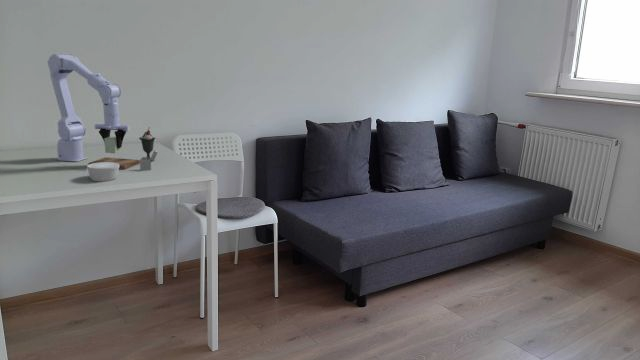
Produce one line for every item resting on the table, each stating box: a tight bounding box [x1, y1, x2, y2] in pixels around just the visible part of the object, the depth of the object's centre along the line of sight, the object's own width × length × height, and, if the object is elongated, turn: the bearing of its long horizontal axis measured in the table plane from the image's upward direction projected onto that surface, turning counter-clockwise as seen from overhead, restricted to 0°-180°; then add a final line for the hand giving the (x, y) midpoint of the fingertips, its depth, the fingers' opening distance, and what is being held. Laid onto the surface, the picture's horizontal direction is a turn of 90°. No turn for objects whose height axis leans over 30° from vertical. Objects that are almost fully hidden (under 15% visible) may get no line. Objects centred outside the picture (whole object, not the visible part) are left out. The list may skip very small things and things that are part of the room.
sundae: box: [138, 126, 156, 163], centre depth 219 cm, size 7×7×15 cm
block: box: [103, 135, 122, 154], centre depth 208 cm, size 4×4×6 cm
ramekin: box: [86, 162, 120, 182], centre depth 188 cm, size 11×11×5 cm
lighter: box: [139, 149, 159, 171], centre depth 204 cm, size 7×2×8 cm, turn 110°
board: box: [87, 157, 140, 170], centre depth 210 cm, size 16×12×2 cm
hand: (113, 147), depth 208 cm, fingers closed on block, 4 cm apart
